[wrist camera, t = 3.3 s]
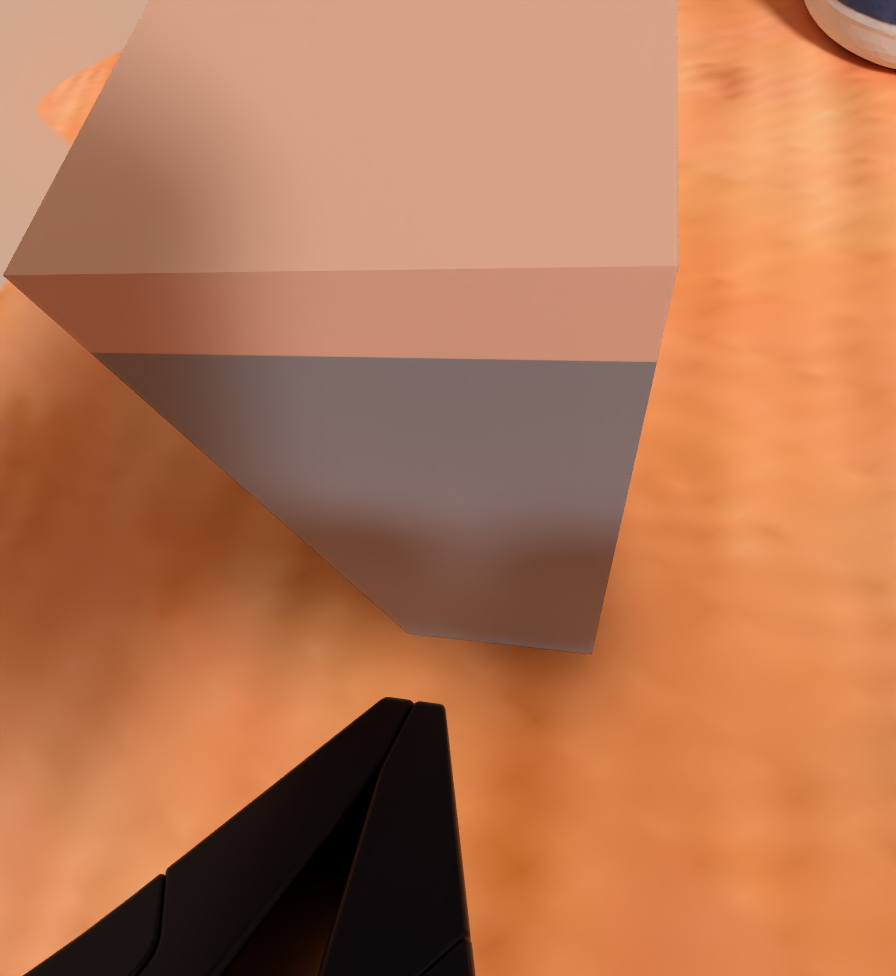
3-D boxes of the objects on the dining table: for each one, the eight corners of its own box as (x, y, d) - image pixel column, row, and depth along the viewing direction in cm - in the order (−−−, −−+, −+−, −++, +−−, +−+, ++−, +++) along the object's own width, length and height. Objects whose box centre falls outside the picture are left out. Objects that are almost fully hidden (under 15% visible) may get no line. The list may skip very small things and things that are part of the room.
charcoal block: (591, 653, 16) (678, 265, 4) (407, 633, 17) (2, 274, 5) (599, 481, 18) (676, -154, 6) (434, 471, 19) (193, -82, 7)
